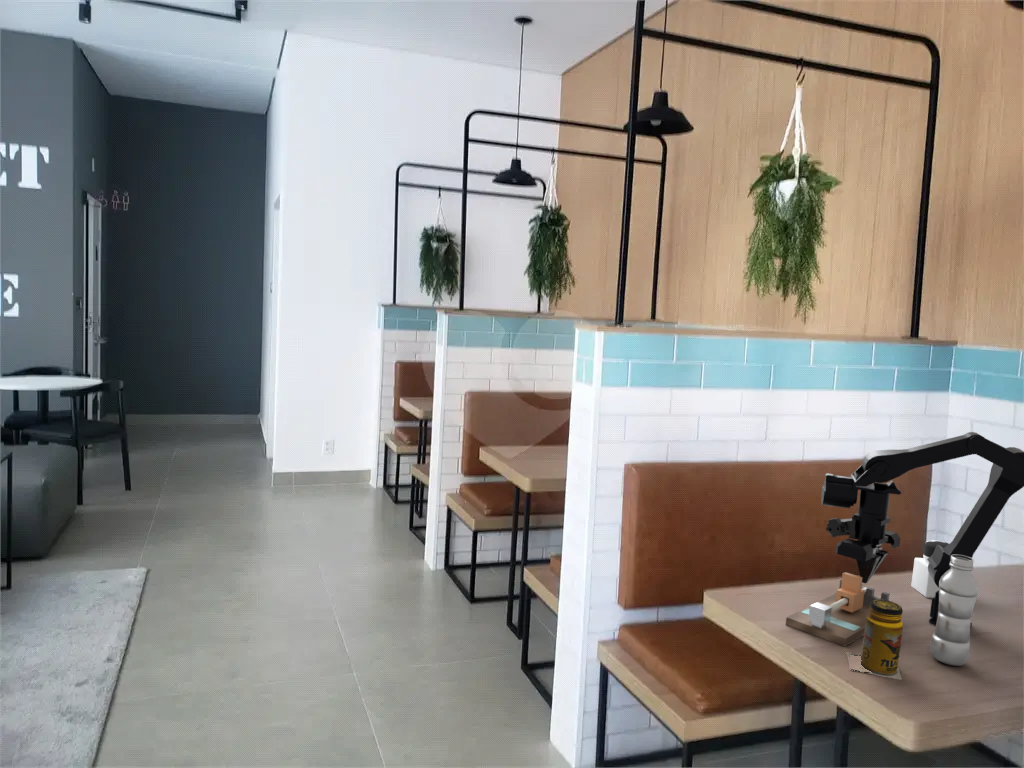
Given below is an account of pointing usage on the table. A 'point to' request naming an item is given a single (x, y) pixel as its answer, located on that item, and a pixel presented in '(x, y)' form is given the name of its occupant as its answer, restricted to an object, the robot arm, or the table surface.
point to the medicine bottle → (925, 571)
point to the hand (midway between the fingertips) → (864, 582)
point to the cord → (842, 602)
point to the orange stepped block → (851, 592)
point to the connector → (819, 615)
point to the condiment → (882, 639)
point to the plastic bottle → (955, 612)
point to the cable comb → (871, 595)
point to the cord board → (833, 623)
